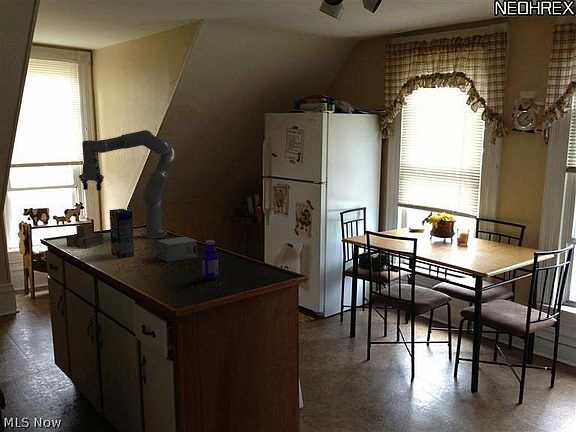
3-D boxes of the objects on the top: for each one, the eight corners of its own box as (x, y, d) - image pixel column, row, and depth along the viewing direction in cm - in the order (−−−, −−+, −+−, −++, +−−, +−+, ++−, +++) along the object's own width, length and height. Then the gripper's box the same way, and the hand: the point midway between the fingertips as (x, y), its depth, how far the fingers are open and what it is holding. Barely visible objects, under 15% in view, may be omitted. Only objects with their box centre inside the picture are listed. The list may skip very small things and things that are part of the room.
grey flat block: (103, 244, 304) (103, 234, 303) (86, 249, 291) (86, 238, 290) (84, 242, 308) (83, 232, 307) (66, 247, 295) (66, 236, 294)
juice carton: (111, 254, 279) (109, 209, 275) (125, 252, 283) (122, 208, 279) (120, 258, 270) (118, 212, 266) (134, 256, 274) (132, 211, 270)
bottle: (212, 275, 241) (211, 238, 238) (220, 278, 237) (220, 240, 234) (200, 279, 235) (199, 241, 232) (208, 281, 232) (208, 243, 229)
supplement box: (168, 262, 264) (167, 244, 262) (156, 257, 274) (156, 239, 272) (197, 257, 274) (197, 240, 273) (185, 252, 284) (185, 235, 283)
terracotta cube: (92, 235, 299) (92, 224, 298) (84, 237, 294) (84, 226, 293) (85, 234, 302) (84, 224, 301) (76, 236, 297) (76, 225, 296)
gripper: (106, 161, 311) (108, 189, 314) (82, 160, 317) (84, 188, 320) (98, 162, 304) (100, 191, 307) (74, 161, 310) (76, 190, 313)
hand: (92, 189), depth 314 cm, fingers open, 9 cm apart
